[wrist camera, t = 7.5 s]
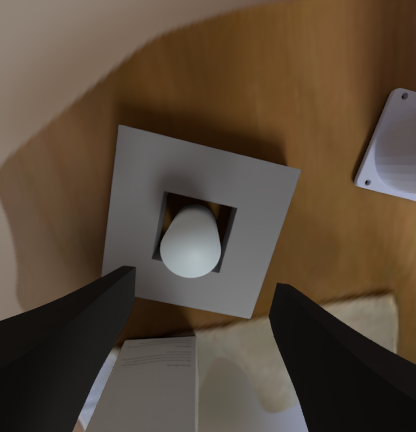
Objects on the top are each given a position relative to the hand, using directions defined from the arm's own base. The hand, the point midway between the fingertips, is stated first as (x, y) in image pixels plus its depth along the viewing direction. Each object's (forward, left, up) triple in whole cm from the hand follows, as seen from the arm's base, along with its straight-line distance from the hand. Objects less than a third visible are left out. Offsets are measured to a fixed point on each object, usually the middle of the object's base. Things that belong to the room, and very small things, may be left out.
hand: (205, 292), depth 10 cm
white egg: (+1, 0, -9) cm, 9 cm away
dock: (+1, 0, -9) cm, 9 cm away
